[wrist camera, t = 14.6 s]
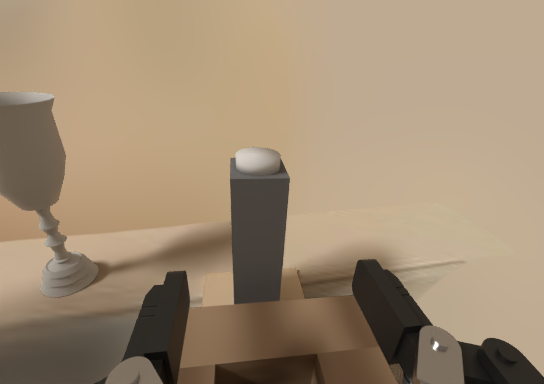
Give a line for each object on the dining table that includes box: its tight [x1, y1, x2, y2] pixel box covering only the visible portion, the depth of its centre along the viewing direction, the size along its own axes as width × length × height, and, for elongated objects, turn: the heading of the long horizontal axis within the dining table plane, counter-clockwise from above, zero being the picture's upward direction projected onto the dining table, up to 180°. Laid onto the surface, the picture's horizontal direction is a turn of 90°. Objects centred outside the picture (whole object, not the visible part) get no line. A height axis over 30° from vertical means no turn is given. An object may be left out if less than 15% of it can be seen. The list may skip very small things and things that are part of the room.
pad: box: [202, 268, 305, 307], centre depth 26 cm, size 10×8×1 cm
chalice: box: [0, 92, 99, 297], centre depth 24 cm, size 7×7×18 cm
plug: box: [230, 147, 290, 304], centre depth 22 cm, size 4×4×15 cm
